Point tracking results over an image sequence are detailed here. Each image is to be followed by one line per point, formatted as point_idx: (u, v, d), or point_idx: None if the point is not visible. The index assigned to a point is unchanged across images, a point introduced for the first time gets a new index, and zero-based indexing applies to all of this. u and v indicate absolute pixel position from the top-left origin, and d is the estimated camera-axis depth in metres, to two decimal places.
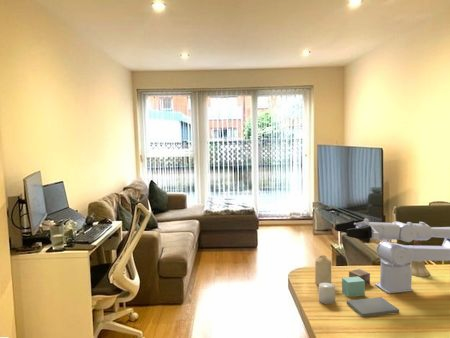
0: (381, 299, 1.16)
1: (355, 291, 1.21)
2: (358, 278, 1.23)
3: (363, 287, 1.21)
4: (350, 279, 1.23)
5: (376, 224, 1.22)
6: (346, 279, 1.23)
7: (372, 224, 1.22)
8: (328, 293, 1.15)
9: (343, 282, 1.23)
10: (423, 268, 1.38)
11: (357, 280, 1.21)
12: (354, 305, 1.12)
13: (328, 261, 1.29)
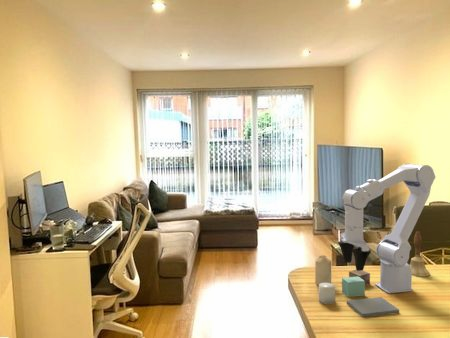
0: (381, 299, 1.16)
1: (355, 291, 1.21)
2: (358, 278, 1.23)
3: (363, 287, 1.21)
4: (350, 279, 1.23)
5: (349, 232, 1.20)
6: (346, 279, 1.23)
7: (349, 237, 1.20)
8: (328, 293, 1.15)
9: (343, 282, 1.23)
10: (423, 268, 1.38)
11: (357, 280, 1.21)
12: (354, 305, 1.12)
13: (328, 261, 1.29)
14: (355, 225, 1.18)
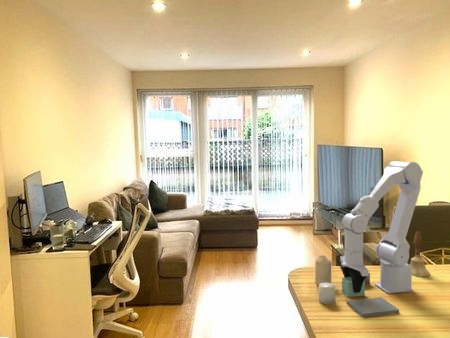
0: (381, 299, 1.16)
1: None
2: None
3: (363, 287, 1.21)
4: (350, 279, 1.23)
5: (348, 256, 1.20)
6: (346, 279, 1.23)
7: (349, 261, 1.20)
8: (328, 293, 1.15)
9: (343, 282, 1.23)
10: (423, 268, 1.38)
11: None
12: (354, 305, 1.12)
13: (328, 261, 1.29)
14: (355, 249, 1.19)
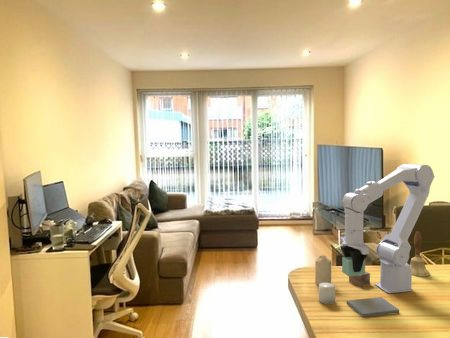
0: (381, 299, 1.16)
1: None
2: None
3: (363, 266, 1.21)
4: (350, 258, 1.22)
5: (349, 235, 1.20)
6: (346, 258, 1.22)
7: (349, 240, 1.20)
8: (328, 293, 1.15)
9: (343, 261, 1.23)
10: (423, 268, 1.38)
11: None
12: (354, 305, 1.12)
13: (328, 261, 1.29)
14: (355, 228, 1.18)
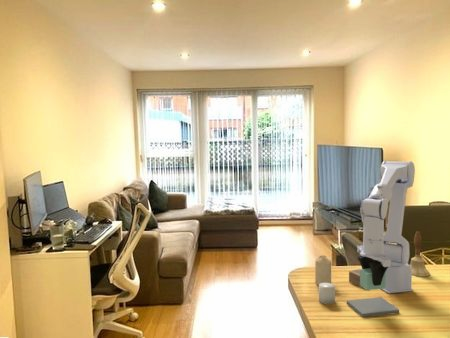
0: (381, 299, 1.16)
1: None
2: None
3: (384, 279, 1.10)
4: (369, 270, 1.11)
5: (368, 245, 1.09)
6: (365, 270, 1.11)
7: (368, 250, 1.09)
8: (328, 293, 1.15)
9: (361, 274, 1.12)
10: (423, 268, 1.38)
11: None
12: (354, 305, 1.12)
13: (328, 261, 1.29)
14: (380, 237, 1.08)
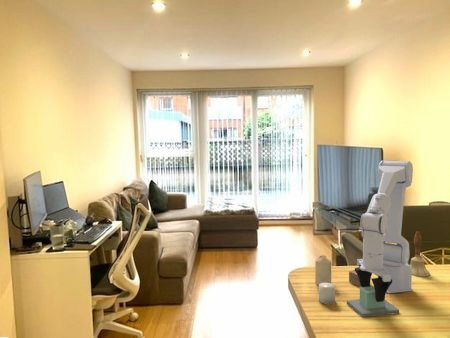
0: None
1: (375, 303, 1.10)
2: None
3: None
4: (369, 289, 1.12)
5: (368, 260, 1.09)
6: (364, 289, 1.12)
7: (368, 265, 1.09)
8: (328, 293, 1.15)
9: (361, 292, 1.12)
10: (423, 268, 1.38)
11: None
12: (354, 305, 1.12)
13: (328, 261, 1.29)
14: (380, 252, 1.08)
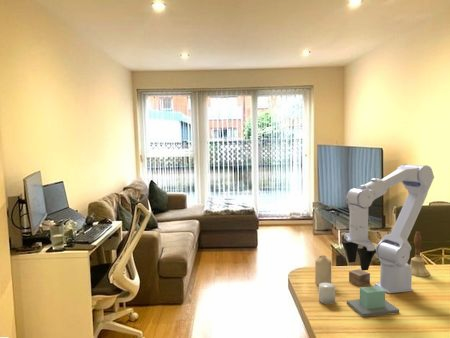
0: None
1: (375, 303, 1.10)
2: (377, 288, 1.12)
3: (383, 298, 1.10)
4: (369, 289, 1.12)
5: (353, 232, 1.18)
6: (364, 289, 1.12)
7: (354, 236, 1.18)
8: (328, 293, 1.15)
9: (361, 292, 1.12)
10: (423, 268, 1.38)
11: (377, 291, 1.10)
12: (354, 305, 1.12)
13: (328, 261, 1.29)
14: (361, 224, 1.17)
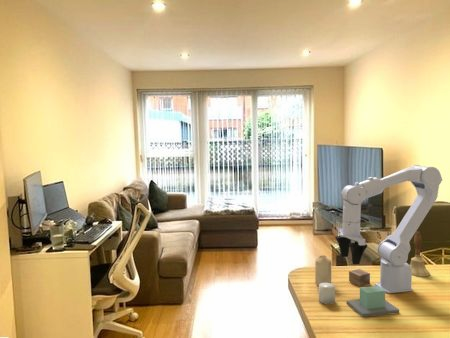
0: None
1: (375, 303, 1.10)
2: (377, 288, 1.12)
3: (383, 298, 1.10)
4: (369, 289, 1.12)
5: (346, 227, 1.23)
6: (364, 289, 1.12)
7: (346, 231, 1.23)
8: (328, 293, 1.15)
9: (361, 292, 1.12)
10: (423, 268, 1.38)
11: (377, 291, 1.10)
12: (354, 305, 1.12)
13: (328, 261, 1.29)
14: (351, 220, 1.22)
